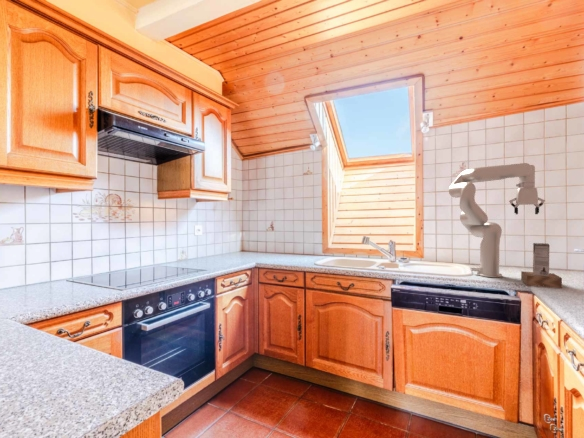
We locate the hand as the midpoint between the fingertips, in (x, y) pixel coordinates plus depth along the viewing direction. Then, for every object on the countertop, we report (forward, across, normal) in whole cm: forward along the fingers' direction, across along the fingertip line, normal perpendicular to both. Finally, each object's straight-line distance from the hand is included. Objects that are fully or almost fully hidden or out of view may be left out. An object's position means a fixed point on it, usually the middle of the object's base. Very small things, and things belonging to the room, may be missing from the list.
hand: (526, 214), depth 185 cm
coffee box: (+32, +1, -28) cm, 42 cm away
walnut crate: (+36, +1, -28) cm, 46 cm away
